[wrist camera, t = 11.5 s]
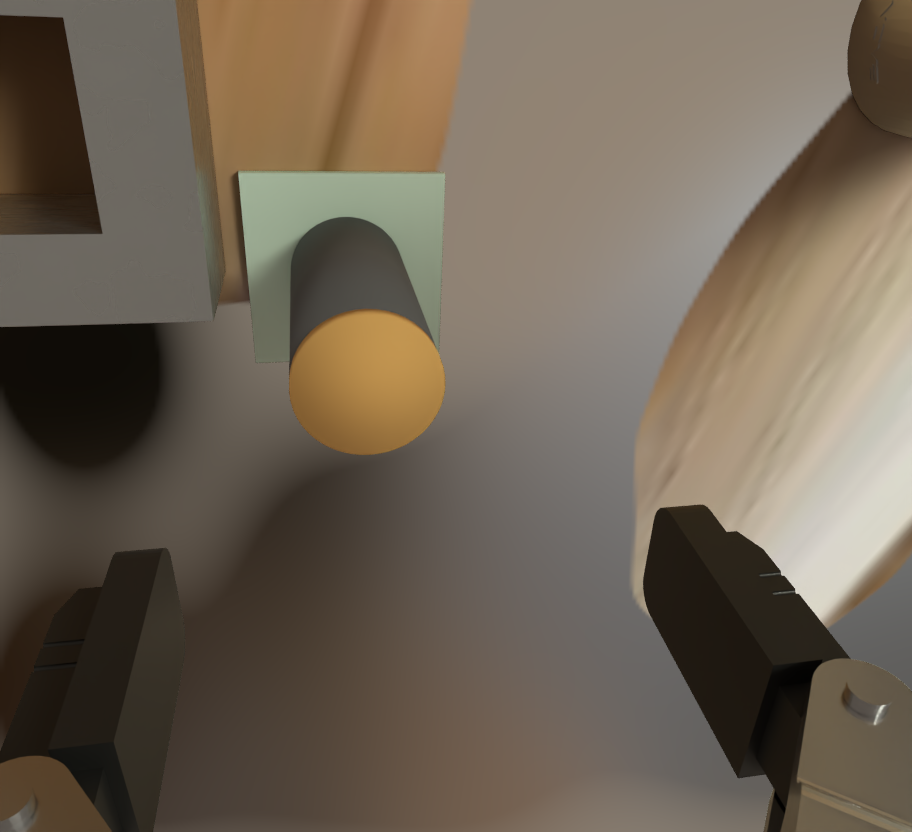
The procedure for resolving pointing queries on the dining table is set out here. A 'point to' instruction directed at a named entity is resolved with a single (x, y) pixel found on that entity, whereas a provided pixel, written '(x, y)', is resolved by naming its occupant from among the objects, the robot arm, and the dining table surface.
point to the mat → (326, 197)
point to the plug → (359, 341)
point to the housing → (122, 179)
